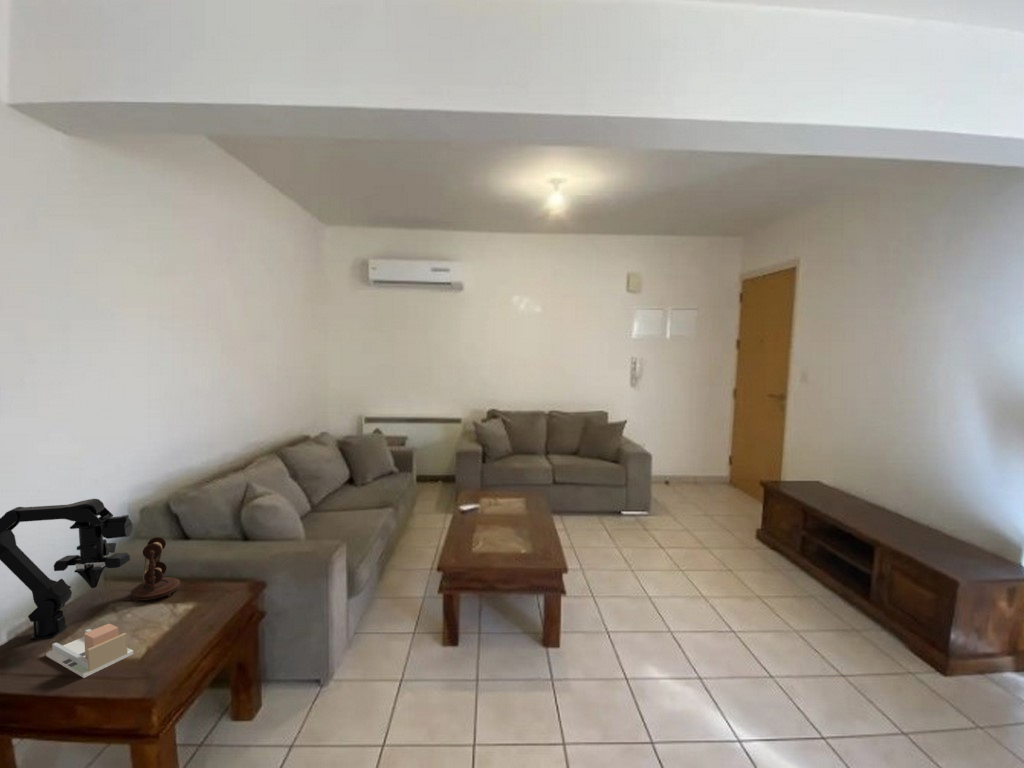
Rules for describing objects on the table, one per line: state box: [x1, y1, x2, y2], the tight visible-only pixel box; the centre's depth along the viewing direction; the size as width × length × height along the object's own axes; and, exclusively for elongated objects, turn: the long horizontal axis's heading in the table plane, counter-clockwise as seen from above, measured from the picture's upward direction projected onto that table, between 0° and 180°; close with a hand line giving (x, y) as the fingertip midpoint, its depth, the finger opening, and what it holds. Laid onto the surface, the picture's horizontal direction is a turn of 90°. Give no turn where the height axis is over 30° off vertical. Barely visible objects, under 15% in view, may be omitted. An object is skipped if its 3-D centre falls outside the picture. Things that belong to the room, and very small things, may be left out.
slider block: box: [83, 622, 120, 659], centre depth 141 cm, size 5×6×8 cm
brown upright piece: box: [130, 536, 181, 603], centre depth 181 cm, size 15×15×20 cm
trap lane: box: [45, 628, 134, 679], centre depth 145 cm, size 21×12×7 cm, turn 64°
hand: (94, 587), depth 159 cm, fingers closed
